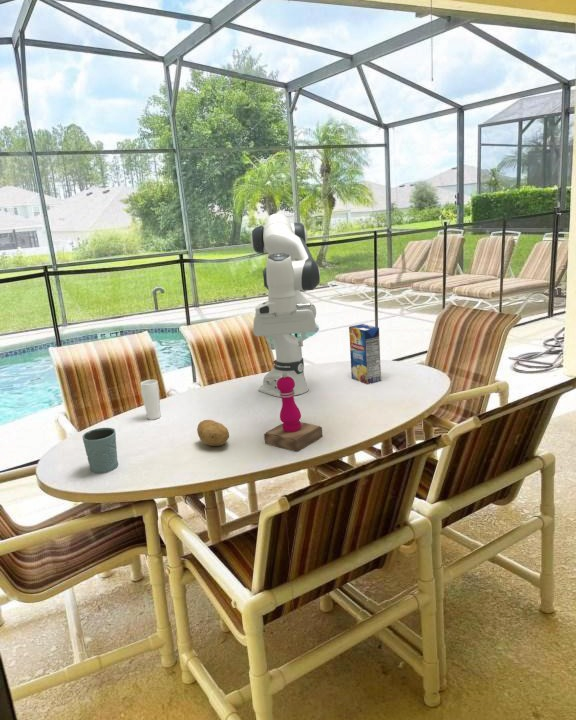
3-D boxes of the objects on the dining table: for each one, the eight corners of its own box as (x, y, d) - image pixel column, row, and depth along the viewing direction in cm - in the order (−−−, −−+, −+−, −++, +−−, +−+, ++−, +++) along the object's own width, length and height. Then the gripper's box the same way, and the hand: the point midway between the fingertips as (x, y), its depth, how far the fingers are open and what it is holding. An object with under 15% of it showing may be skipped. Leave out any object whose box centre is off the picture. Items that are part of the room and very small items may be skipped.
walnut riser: (265, 443, 189) (263, 432, 188) (290, 429, 200) (289, 419, 199) (297, 452, 181) (296, 440, 179) (322, 436, 191) (321, 425, 190)
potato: (213, 455, 184) (210, 432, 182) (192, 443, 194) (189, 422, 192) (238, 445, 189) (235, 423, 187) (216, 435, 200) (214, 414, 198)
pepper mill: (301, 432, 185) (293, 375, 180) (279, 433, 187) (271, 377, 181) (303, 423, 192) (296, 368, 186) (283, 424, 194) (275, 369, 188)
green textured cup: (100, 460, 187) (94, 426, 184) (127, 461, 184) (121, 427, 181) (82, 474, 177) (75, 439, 174) (109, 476, 174) (103, 440, 171)
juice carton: (351, 378, 253) (348, 326, 247) (365, 375, 256) (362, 323, 250) (367, 384, 242) (364, 330, 236) (381, 380, 246) (379, 327, 240)
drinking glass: (166, 415, 225) (161, 379, 221) (155, 421, 219) (150, 385, 215) (152, 414, 227) (147, 378, 224) (142, 420, 222) (136, 384, 218)
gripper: (314, 301, 181) (317, 342, 185) (251, 306, 181) (255, 347, 185) (315, 304, 175) (318, 347, 179) (250, 309, 175) (255, 352, 179)
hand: (286, 347), depth 182 cm, fingers open, 8 cm apart
